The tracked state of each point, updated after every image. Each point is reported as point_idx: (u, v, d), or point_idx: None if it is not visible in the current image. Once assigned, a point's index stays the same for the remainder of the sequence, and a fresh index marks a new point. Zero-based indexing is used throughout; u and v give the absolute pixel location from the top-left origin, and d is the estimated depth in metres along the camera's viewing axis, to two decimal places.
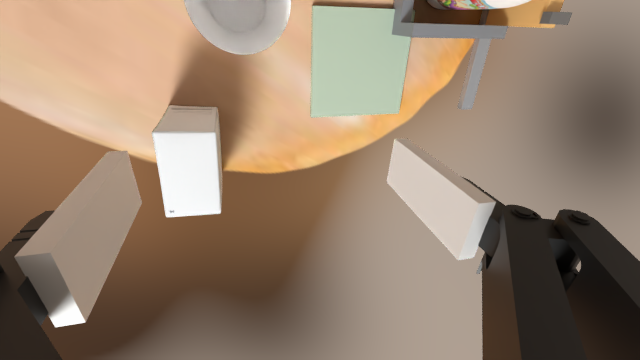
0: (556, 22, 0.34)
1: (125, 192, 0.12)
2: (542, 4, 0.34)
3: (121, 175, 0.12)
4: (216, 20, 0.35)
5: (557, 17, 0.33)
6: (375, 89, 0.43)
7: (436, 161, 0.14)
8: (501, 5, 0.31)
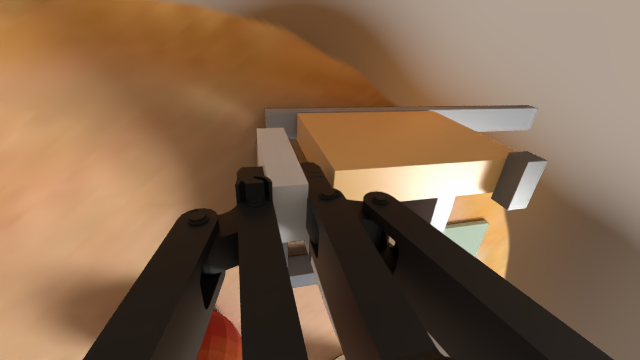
0: (530, 191, 0.15)
1: None
2: None
3: None
4: None
5: (522, 194, 0.15)
6: None
7: (289, 148, 0.14)
8: None
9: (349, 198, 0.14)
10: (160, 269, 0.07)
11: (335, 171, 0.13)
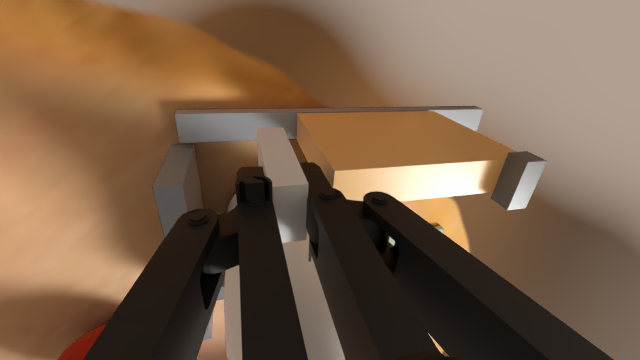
0: (530, 191, 0.15)
1: None
2: None
3: None
4: None
5: (522, 194, 0.15)
6: None
7: (289, 148, 0.14)
8: None
9: (349, 198, 0.14)
10: (160, 269, 0.07)
11: (335, 171, 0.13)
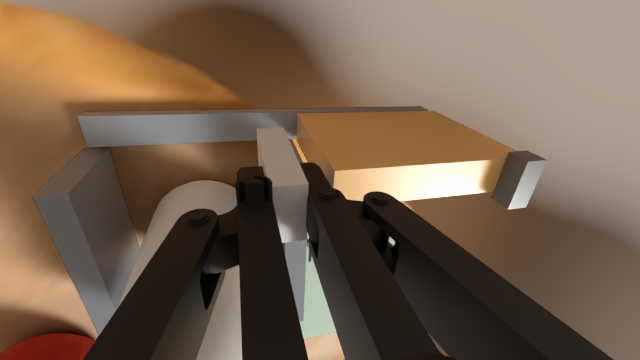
0: (530, 190, 0.15)
1: None
2: None
3: None
4: None
5: (522, 193, 0.15)
6: None
7: (289, 148, 0.14)
8: None
9: (349, 198, 0.14)
10: (160, 269, 0.07)
11: (335, 171, 0.13)
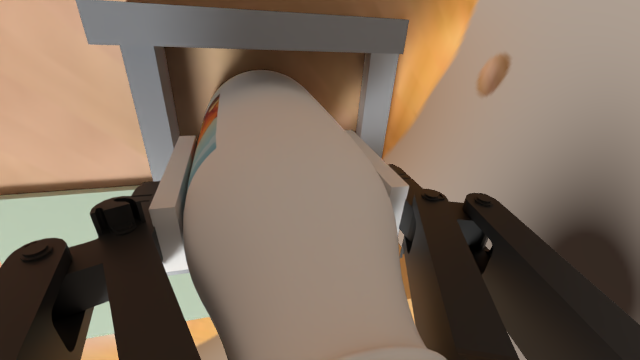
0: None
1: None
2: None
3: None
4: None
5: None
6: None
7: (370, 150, 0.14)
8: None
9: (409, 307, 0.18)
10: None
11: None
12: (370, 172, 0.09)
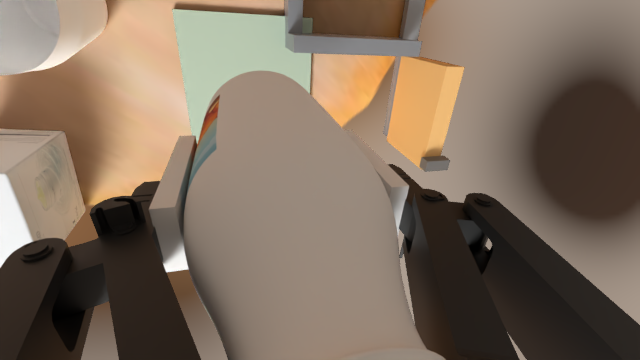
0: (433, 169, 0.32)
1: None
2: (422, 148, 0.33)
3: (194, 155, 0.14)
4: (40, 24, 0.27)
5: (434, 165, 0.32)
6: None
7: (370, 150, 0.14)
8: None
9: (448, 76, 0.29)
10: None
11: (464, 67, 0.29)
12: (370, 173, 0.09)
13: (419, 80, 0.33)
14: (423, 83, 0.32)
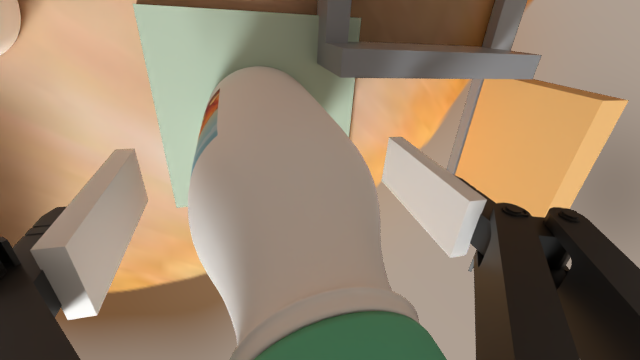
0: None
1: (133, 189, 0.13)
2: None
3: (128, 172, 0.12)
4: None
5: None
6: None
7: (429, 160, 0.14)
8: None
9: (601, 115, 0.17)
10: None
11: None
12: (355, 156, 0.10)
13: (527, 115, 0.21)
14: (538, 120, 0.20)
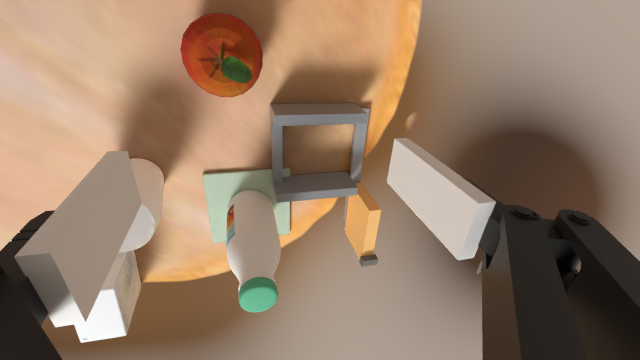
0: (367, 265, 0.51)
1: (125, 192, 0.12)
2: (361, 250, 0.51)
3: (120, 175, 0.12)
4: None
5: (367, 262, 0.51)
6: None
7: (436, 161, 0.14)
8: None
9: (371, 215, 0.47)
10: None
11: None
12: (270, 241, 0.41)
13: (358, 207, 0.51)
14: (360, 211, 0.50)
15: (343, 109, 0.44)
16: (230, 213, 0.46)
